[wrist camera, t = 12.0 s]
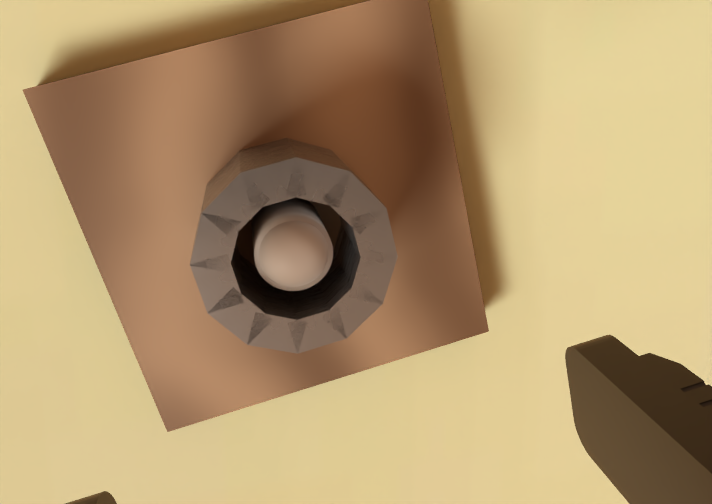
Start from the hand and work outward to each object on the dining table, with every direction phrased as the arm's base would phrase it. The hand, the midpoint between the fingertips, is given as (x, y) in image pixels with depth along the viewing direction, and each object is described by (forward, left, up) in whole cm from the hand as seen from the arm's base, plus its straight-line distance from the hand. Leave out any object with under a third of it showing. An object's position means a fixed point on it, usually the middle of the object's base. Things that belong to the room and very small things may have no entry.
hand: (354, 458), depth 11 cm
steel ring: (0, 0, -14) cm, 14 cm away
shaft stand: (0, 0, -16) cm, 16 cm away
